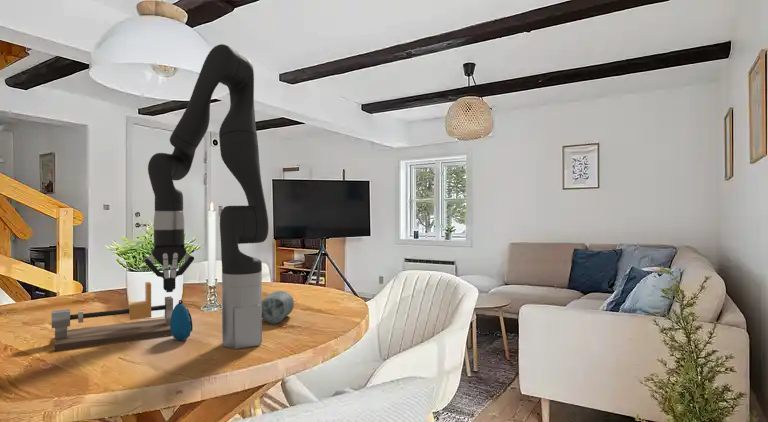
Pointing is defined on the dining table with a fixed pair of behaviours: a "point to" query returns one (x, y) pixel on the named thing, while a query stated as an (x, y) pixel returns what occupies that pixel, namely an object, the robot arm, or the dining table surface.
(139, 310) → the l-shaped tan slider
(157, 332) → the wooden bar clamp
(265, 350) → the dining table surface
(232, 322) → the robot arm
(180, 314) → the ornament
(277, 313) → the grey textured cylinder
